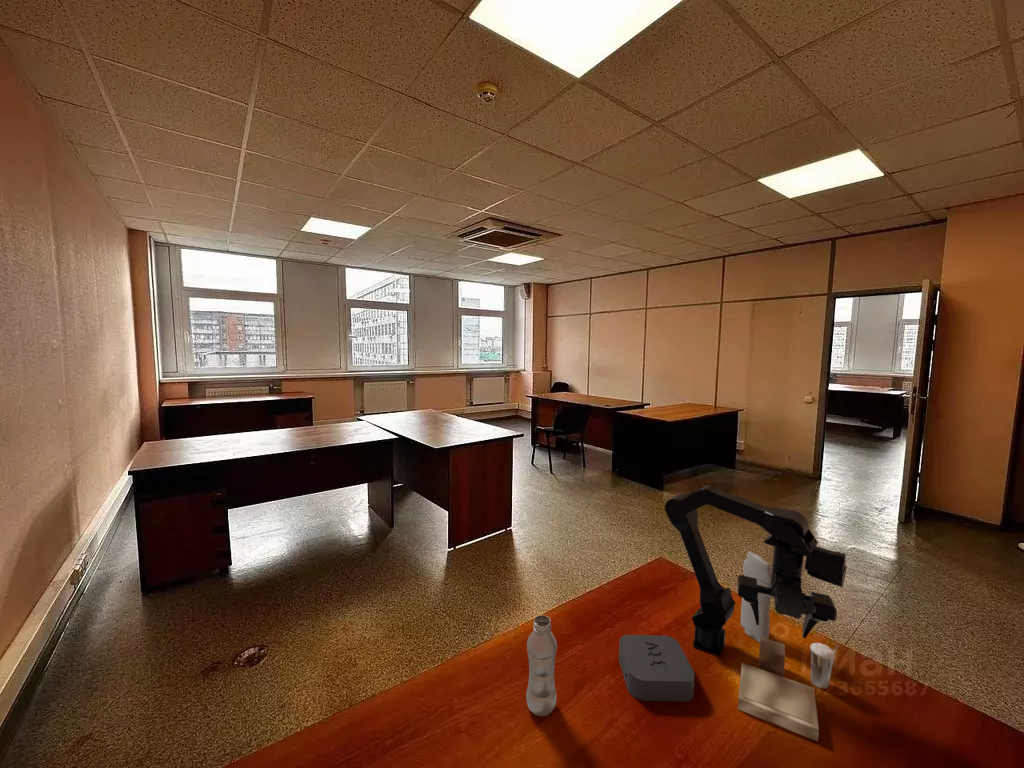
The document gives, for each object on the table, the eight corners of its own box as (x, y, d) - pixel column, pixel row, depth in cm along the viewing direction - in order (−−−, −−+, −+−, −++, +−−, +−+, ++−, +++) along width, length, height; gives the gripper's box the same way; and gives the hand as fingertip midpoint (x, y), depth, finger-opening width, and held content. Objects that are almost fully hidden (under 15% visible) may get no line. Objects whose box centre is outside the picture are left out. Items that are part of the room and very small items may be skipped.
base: (737, 709, 91) (738, 697, 91) (741, 672, 101) (742, 661, 101) (817, 741, 84) (818, 729, 83) (813, 698, 94) (813, 687, 93)
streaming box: (697, 703, 92) (698, 681, 92) (631, 702, 93) (632, 680, 92) (674, 654, 107) (674, 635, 106) (616, 653, 107) (617, 634, 107)
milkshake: (840, 693, 95) (844, 652, 94) (813, 689, 96) (816, 648, 95) (829, 677, 99) (832, 638, 98) (803, 674, 100) (807, 634, 99)
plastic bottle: (559, 699, 93) (560, 614, 91) (552, 725, 87) (553, 634, 85) (531, 691, 95) (532, 607, 93) (522, 716, 89) (522, 627, 87)
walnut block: (758, 672, 101) (760, 649, 100) (758, 659, 105) (760, 636, 105) (783, 681, 98) (785, 657, 98) (782, 667, 103) (784, 644, 102)
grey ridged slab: (775, 647, 109) (781, 566, 107) (760, 648, 109) (766, 567, 107) (747, 620, 120) (751, 546, 118) (733, 621, 119) (738, 547, 117)
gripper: (742, 573, 93) (736, 639, 95) (847, 598, 85) (838, 669, 87) (739, 551, 103) (734, 610, 105) (833, 571, 95) (826, 635, 97)
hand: (780, 630), depth 98 cm, fingers open, 9 cm apart
